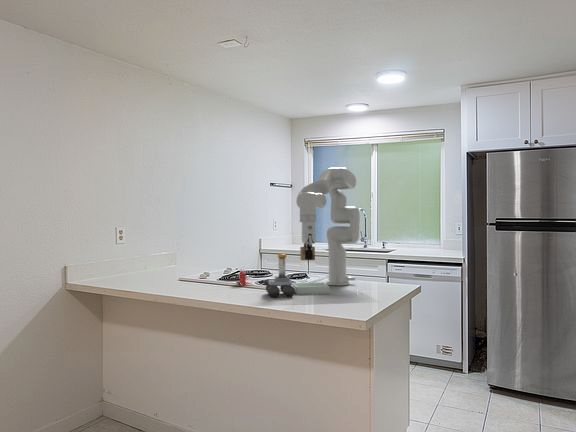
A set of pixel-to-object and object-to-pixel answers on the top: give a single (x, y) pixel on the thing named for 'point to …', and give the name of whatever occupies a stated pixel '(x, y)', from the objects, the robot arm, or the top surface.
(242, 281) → the bracket
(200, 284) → the top surface
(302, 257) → the chock
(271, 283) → the trolley
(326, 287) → the tray
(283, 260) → the pin
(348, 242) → the robot arm
